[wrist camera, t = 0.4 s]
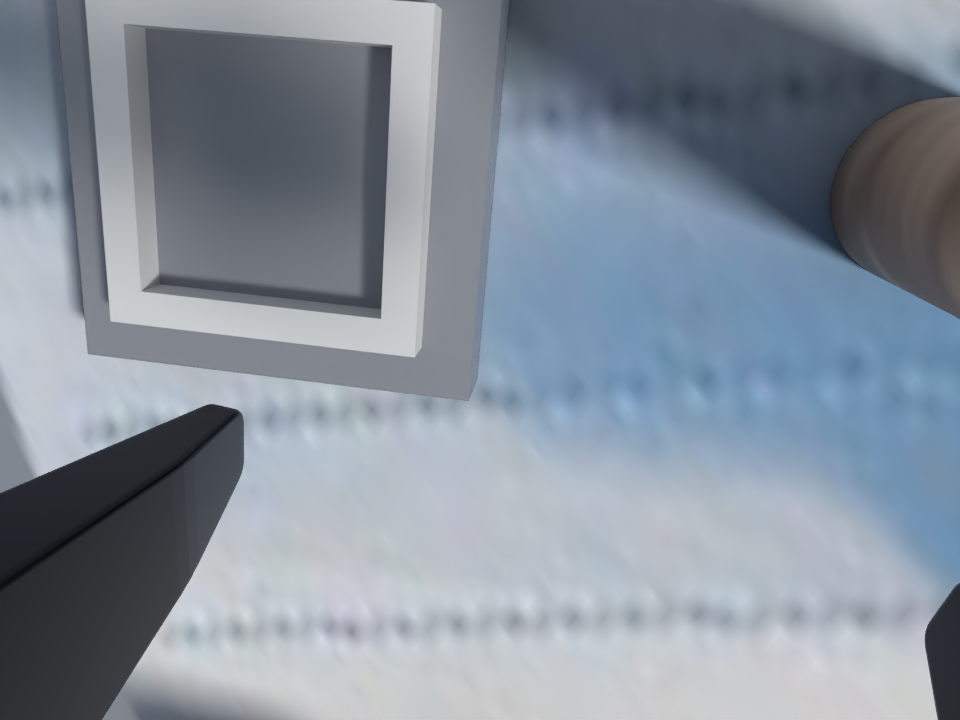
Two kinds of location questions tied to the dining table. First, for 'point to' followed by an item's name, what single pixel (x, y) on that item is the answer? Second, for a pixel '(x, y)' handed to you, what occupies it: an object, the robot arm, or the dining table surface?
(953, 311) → the post
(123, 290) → the base
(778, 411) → the dining table surface
